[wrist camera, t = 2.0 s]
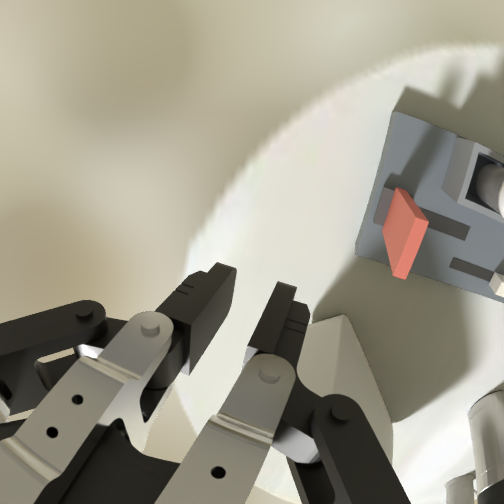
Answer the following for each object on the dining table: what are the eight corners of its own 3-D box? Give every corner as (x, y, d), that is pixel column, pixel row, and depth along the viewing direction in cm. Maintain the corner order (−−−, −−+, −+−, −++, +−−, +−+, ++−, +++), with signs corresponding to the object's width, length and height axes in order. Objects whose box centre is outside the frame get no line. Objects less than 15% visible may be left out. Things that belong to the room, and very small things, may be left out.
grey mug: (455, 475, 46) (456, 523, 33) (493, 471, 43) (497, 515, 30) (439, 488, 50) (437, 533, 37) (476, 484, 47) (477, 526, 34)
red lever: (413, 191, 26) (441, 226, 17) (399, 232, 28) (417, 283, 19) (384, 181, 26) (401, 212, 17) (371, 223, 28) (379, 271, 20)
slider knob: (506, 276, 25) (513, 286, 23) (500, 288, 26) (507, 298, 24) (494, 271, 25) (501, 281, 23) (488, 284, 26) (495, 294, 24)
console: (542, 182, 22) (579, 202, 15) (498, 291, 29) (520, 328, 22) (391, 111, 26) (406, 109, 19) (355, 243, 33) (355, 278, 26)
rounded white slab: (290, 321, 40) (249, 433, 24) (343, 305, 37) (327, 426, 21) (354, 433, 47) (340, 518, 31) (393, 425, 43) (388, 514, 28)
